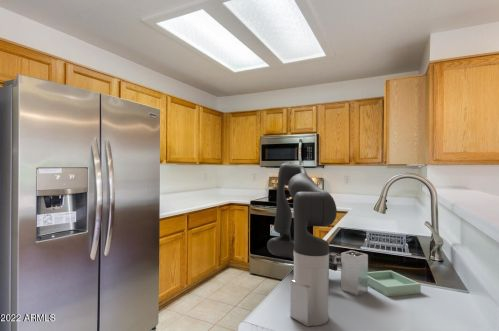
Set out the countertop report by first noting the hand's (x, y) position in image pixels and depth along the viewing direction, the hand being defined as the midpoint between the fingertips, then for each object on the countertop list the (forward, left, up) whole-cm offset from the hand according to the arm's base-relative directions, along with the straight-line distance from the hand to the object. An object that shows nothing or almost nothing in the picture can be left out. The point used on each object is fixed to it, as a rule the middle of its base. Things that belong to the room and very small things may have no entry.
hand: (344, 265), depth 93 cm
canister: (0, -4, -7) cm, 8 cm away
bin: (+13, -9, -7) cm, 17 cm away
